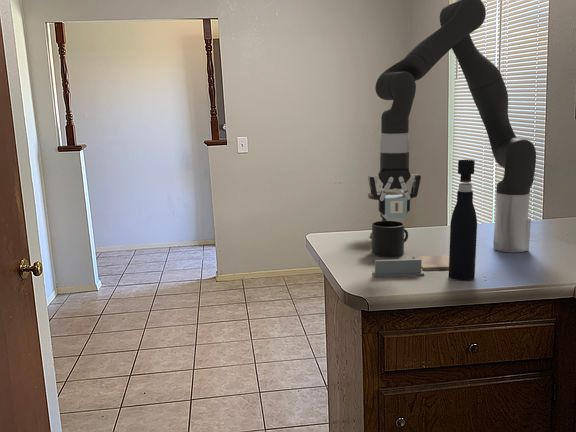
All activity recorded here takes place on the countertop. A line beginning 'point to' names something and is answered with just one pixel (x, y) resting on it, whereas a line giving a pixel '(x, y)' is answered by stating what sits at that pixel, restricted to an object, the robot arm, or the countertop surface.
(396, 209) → the letter cube
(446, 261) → the coaster
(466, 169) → the wine bottle
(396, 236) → the mug
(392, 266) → the grey angle bar
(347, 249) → the countertop surface
